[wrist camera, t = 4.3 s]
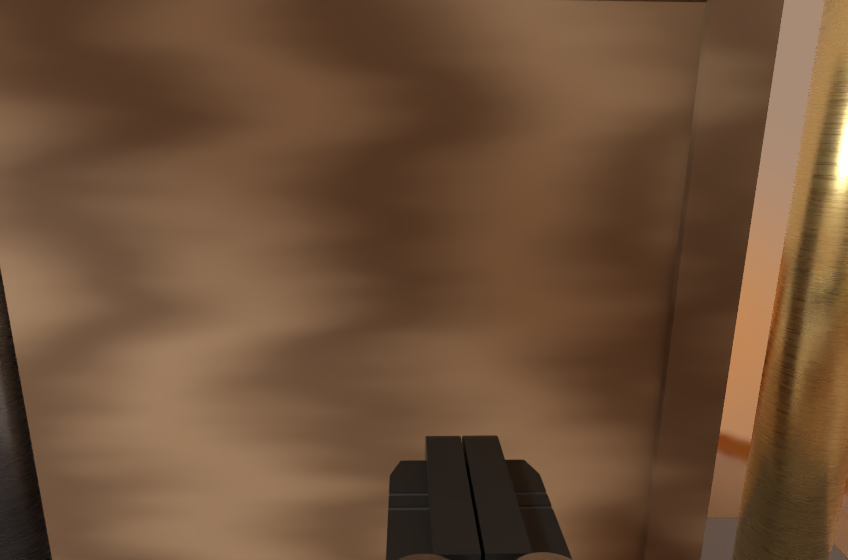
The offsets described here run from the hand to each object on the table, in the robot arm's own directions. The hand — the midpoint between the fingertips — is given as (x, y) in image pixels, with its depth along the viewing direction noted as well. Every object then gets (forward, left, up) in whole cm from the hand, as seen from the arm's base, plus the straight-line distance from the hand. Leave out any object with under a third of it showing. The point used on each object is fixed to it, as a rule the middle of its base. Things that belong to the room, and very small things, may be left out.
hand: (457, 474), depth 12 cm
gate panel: (-2, +4, -6) cm, 7 cm away
